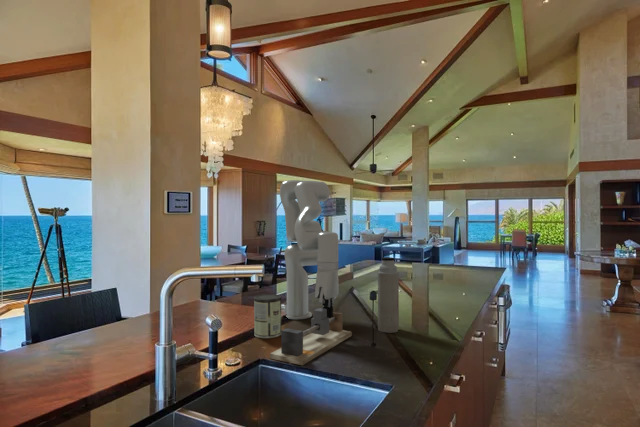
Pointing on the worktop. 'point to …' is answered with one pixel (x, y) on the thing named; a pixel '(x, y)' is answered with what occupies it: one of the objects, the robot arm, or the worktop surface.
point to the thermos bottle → (388, 296)
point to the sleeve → (320, 321)
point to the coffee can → (267, 316)
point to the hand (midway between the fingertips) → (328, 317)
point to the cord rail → (309, 342)
